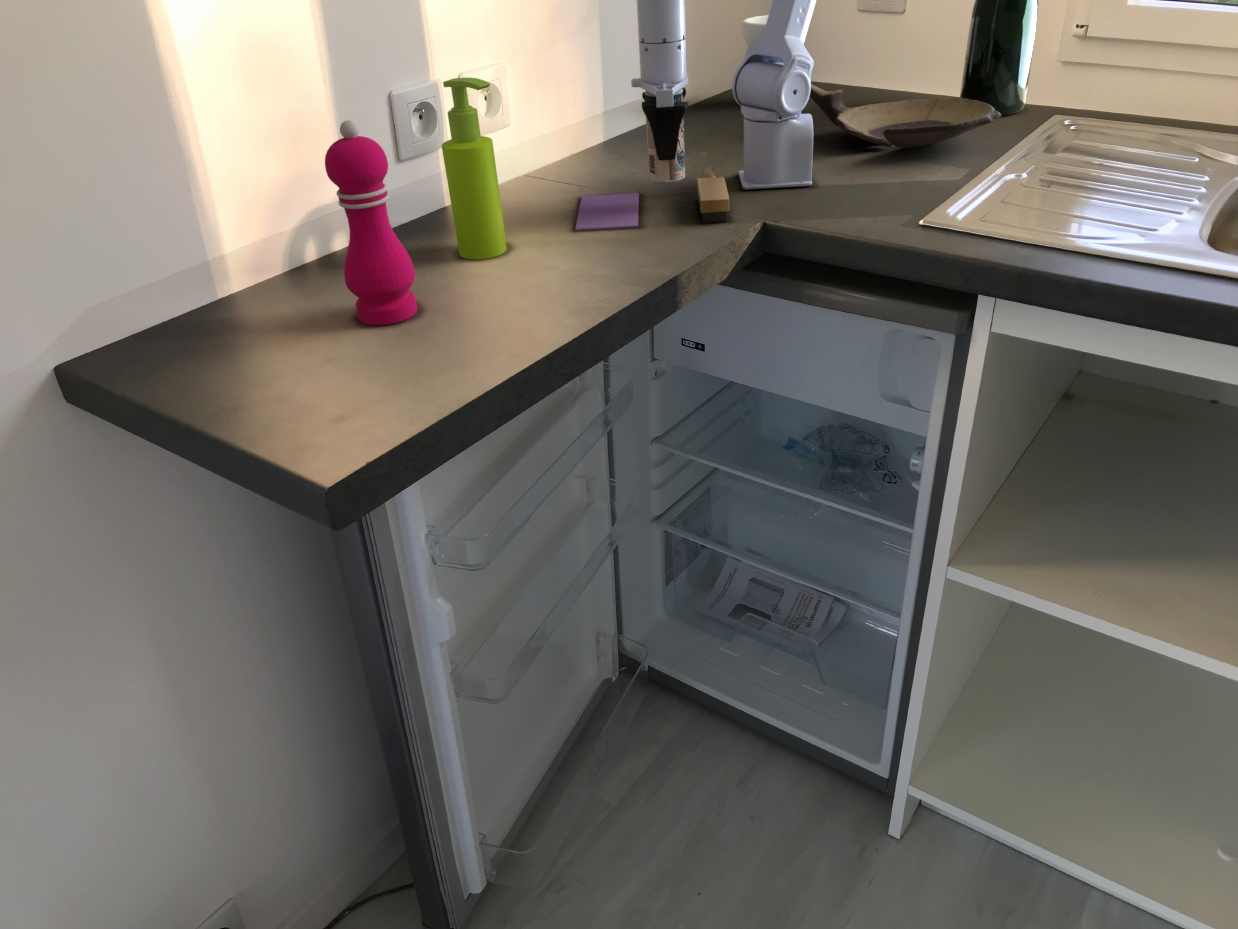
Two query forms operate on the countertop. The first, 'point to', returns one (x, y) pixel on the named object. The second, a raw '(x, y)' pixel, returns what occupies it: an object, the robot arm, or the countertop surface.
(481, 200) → the soap dispenser
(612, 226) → the cloth
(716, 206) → the hand brush
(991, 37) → the beer bottle
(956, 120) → the brown handled bowl
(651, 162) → the beer can
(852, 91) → the countertop surface
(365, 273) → the pepper mill
